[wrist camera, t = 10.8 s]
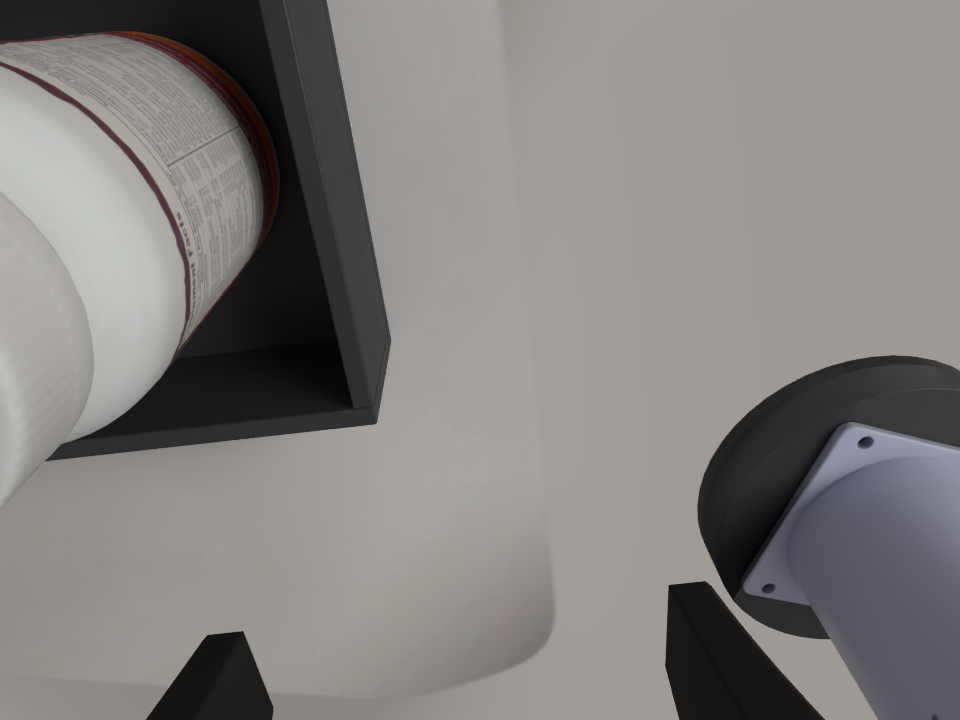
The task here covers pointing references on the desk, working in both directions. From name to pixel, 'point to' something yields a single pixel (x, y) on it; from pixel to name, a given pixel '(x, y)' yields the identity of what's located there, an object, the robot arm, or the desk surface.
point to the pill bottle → (114, 225)
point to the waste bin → (284, 252)
